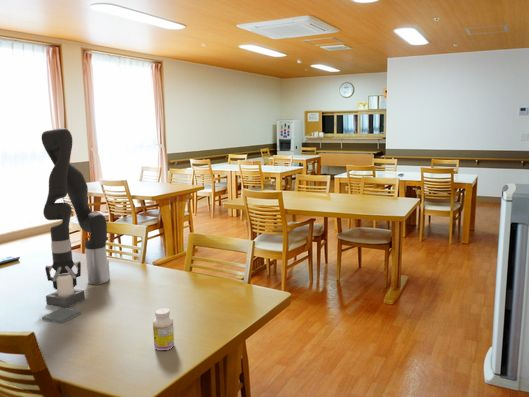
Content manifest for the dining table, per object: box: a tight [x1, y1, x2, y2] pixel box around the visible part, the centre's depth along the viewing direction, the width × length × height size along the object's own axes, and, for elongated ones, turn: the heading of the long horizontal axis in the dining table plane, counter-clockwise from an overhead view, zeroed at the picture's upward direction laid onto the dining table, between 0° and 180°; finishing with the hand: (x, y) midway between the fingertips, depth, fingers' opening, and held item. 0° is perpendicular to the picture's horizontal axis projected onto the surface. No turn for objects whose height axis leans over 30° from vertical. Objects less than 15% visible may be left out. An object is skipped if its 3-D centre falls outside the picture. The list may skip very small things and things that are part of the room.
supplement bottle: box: [152, 307, 175, 351], centre depth 155 cm, size 7×7×13 cm
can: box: [56, 273, 75, 297], centre depth 196 cm, size 6×6×12 cm
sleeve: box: [45, 288, 86, 309], centre depth 197 cm, size 11×11×4 cm
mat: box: [41, 307, 82, 324], centre depth 183 cm, size 10×10×1 cm
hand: (65, 287), depth 196 cm, fingers closed on can, 6 cm apart
